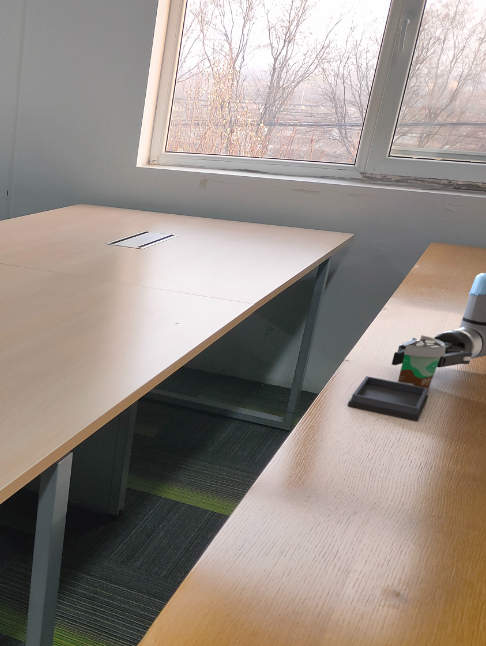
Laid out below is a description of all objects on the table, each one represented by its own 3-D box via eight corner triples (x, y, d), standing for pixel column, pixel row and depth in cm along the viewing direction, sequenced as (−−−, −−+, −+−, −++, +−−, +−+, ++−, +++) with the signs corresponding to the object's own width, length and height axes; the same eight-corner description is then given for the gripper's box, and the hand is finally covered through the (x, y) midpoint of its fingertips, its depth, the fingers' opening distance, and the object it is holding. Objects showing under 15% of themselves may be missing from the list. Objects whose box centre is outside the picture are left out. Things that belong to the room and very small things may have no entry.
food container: (426, 397, 167) (439, 351, 164) (394, 389, 171) (406, 344, 168) (441, 384, 176) (454, 340, 172) (410, 377, 180) (422, 334, 176)
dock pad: (427, 399, 167) (430, 388, 166) (417, 421, 154) (420, 409, 154) (361, 386, 174) (364, 375, 173) (347, 406, 161) (350, 394, 160)
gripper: (486, 371, 178) (433, 387, 166) (416, 353, 190) (362, 367, 178) (496, 339, 176) (444, 353, 163) (424, 322, 187) (370, 334, 175)
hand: (401, 360), depth 170 cm, fingers closed on food container, 2 cm apart
